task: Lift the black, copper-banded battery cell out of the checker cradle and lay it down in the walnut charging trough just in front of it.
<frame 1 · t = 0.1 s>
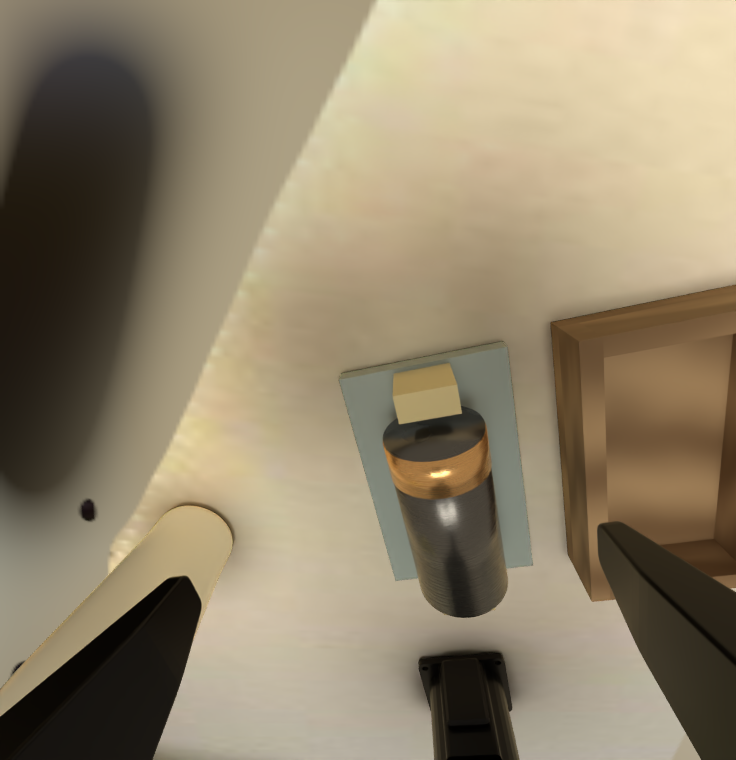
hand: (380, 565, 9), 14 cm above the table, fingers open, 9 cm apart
charging trough: (642, 439, 23), on the table
checker cradle: (442, 470, 24), on the table
drinking glass: (200, 529, 28), on the table
battery cell: (443, 480, 23), point 1 cm above the table, touching checker cradle
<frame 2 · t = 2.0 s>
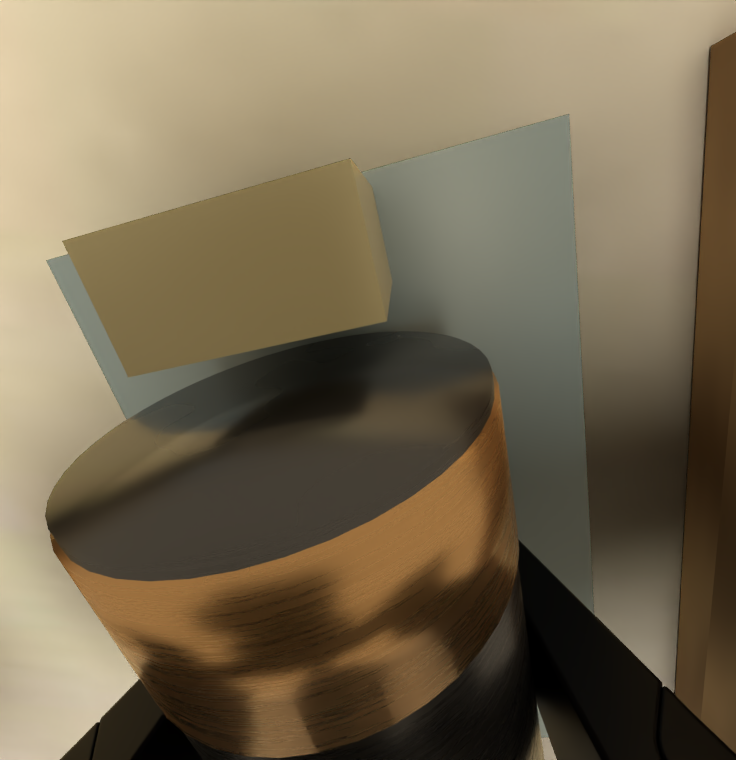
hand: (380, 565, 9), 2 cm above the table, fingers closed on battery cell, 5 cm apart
checker cradle: (382, 516, 10), on the table
battery cell: (381, 548, 9), point 1 cm above the table, touching checker cradle, gripper
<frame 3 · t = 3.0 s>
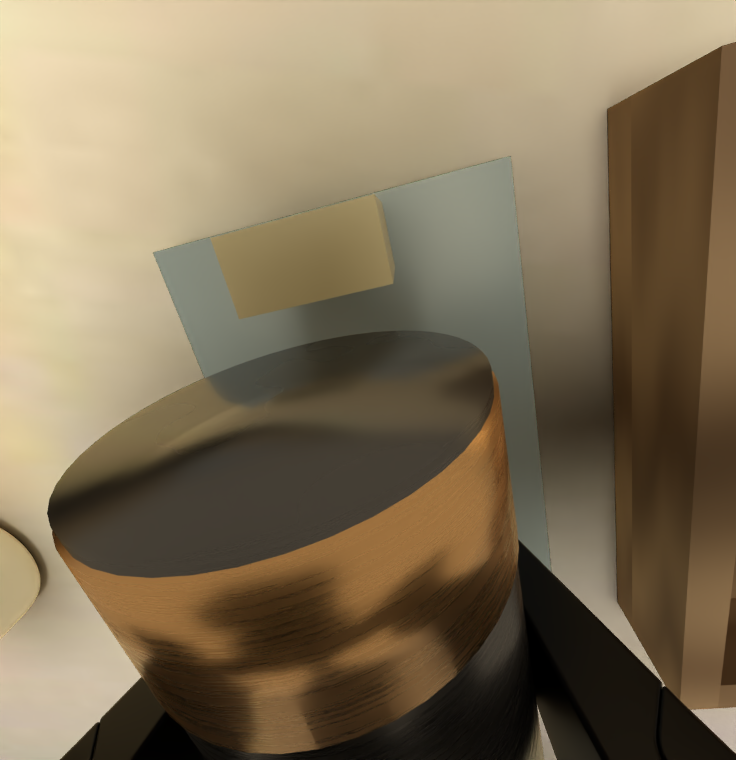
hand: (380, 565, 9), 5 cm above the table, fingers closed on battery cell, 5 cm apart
checker cradle: (387, 450, 13), on the table
battery cell: (381, 547, 9), point 4 cm above the table, touching gripper
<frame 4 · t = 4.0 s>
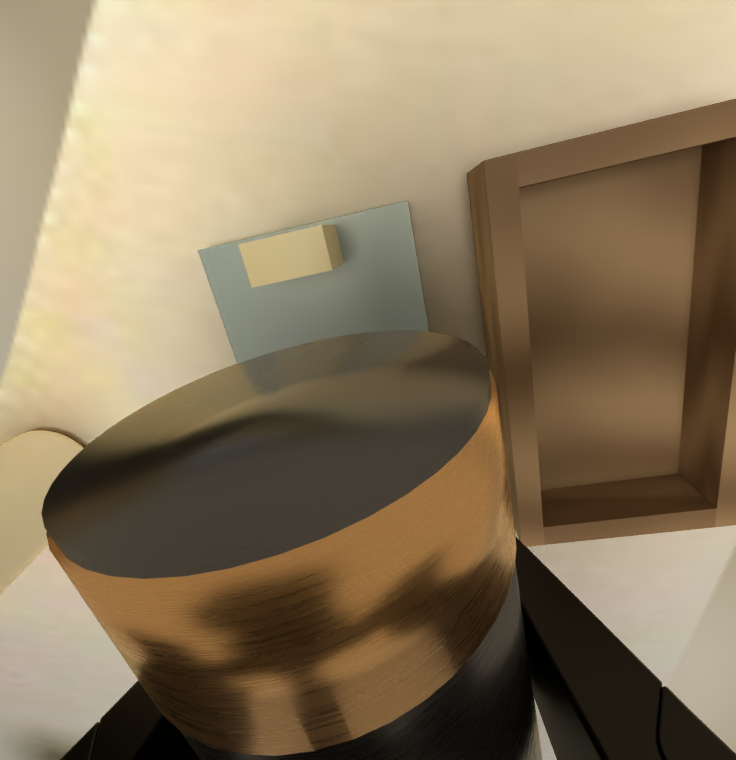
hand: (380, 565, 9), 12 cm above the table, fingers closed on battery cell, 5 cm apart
charging trough: (588, 342, 18), on the table
checker cradle: (344, 384, 20), on the table
drinking glass: (63, 464, 23), on the table
battery cell: (379, 547, 9), point 11 cm above the table, touching gripper
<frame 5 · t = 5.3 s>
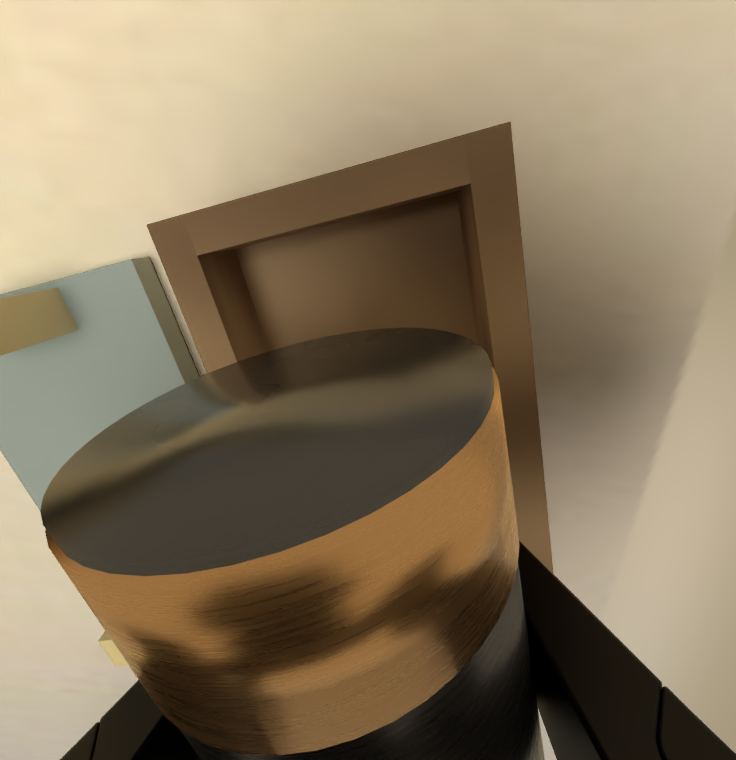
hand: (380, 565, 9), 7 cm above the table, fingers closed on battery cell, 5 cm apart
charging trough: (390, 410, 15), on the table
checker cradle: (131, 457, 17), on the table
battery cell: (380, 546, 9), point 7 cm above the table, touching gripper
when the fingers open (4 cm above the table, at t = 6.2 s): battery cell drops 3 cm, resting on charging trough.
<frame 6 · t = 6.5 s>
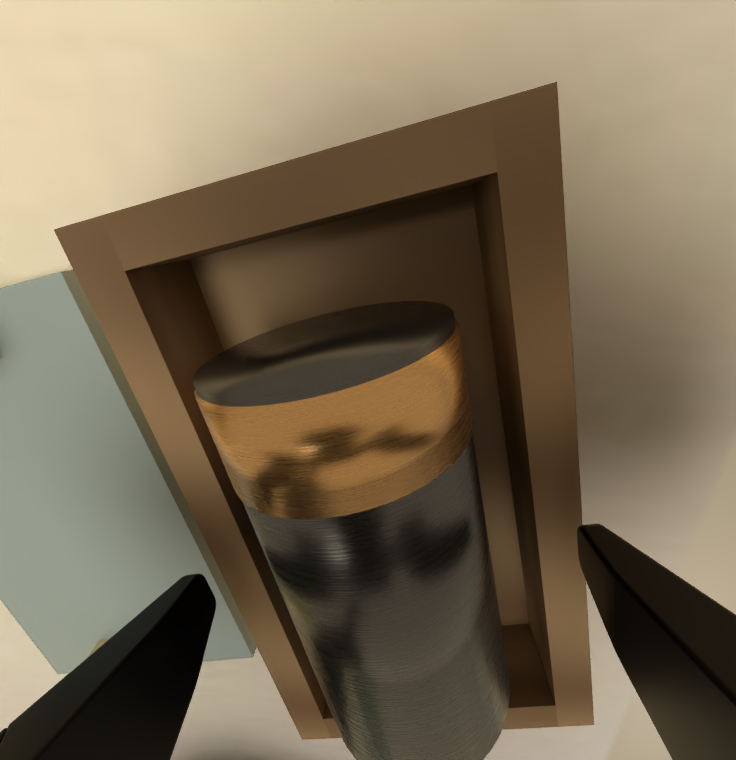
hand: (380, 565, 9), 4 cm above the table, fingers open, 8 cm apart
charging trough: (387, 452, 13), on the table
checker cradle: (80, 502, 14), on the table
battery cell: (386, 472, 12), point 1 cm above the table, touching charging trough
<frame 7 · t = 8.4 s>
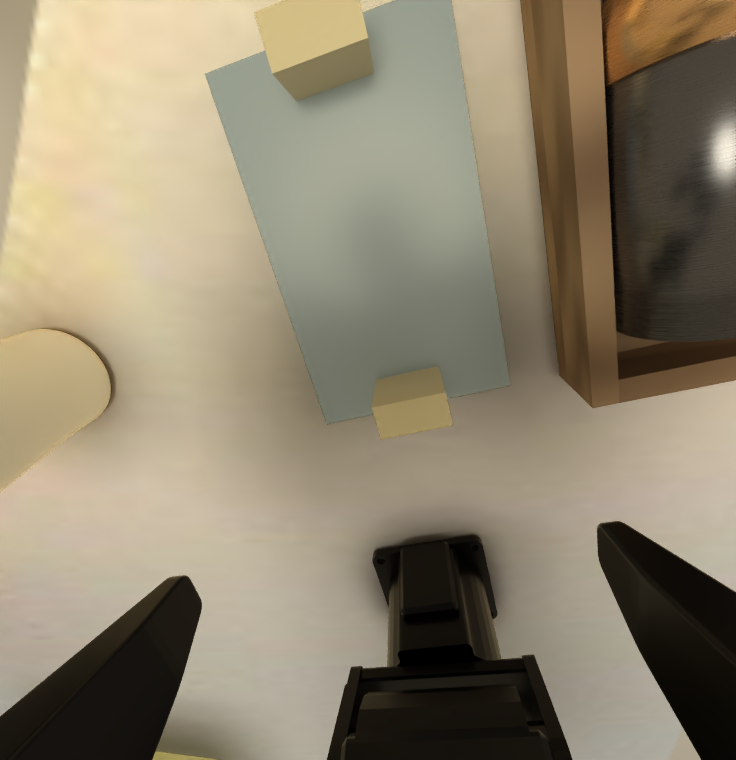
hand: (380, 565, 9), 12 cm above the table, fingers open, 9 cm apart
charging trough: (660, 165, 15), on the table
checker cradle: (376, 246, 17), on the table
drinking glass: (70, 373, 21), on the table
battery cell: (679, 163, 14), point 1 cm above the table, tilted 21°, touching charging trough
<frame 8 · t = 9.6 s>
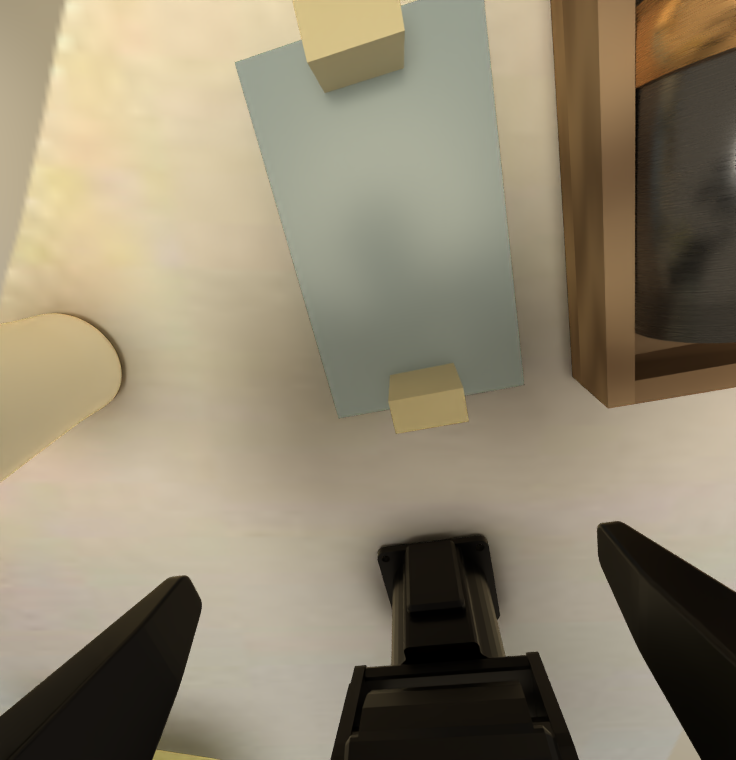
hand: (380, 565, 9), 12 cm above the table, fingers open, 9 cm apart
charging trough: (681, 170, 16), on the table
checker cradle: (396, 241, 17), on the table
drinking glass: (81, 359, 21), on the table
battery cell: (702, 168, 14), point 1 cm above the table, tilted 22°, touching charging trough
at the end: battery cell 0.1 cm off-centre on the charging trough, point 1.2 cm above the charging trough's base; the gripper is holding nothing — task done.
